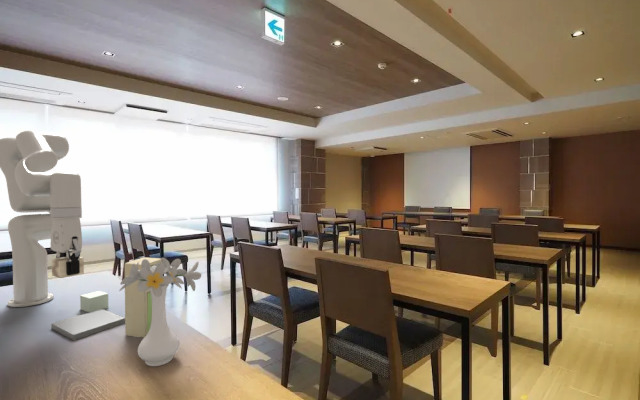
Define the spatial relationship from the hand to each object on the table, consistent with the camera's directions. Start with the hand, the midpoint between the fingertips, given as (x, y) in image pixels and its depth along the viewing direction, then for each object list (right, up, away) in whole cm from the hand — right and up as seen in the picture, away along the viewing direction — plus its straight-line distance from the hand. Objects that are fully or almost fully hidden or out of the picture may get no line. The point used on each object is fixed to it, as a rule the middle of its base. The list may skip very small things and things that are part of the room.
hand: (68, 272), depth 101 cm
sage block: (-2, -16, +15) cm, 22 cm away
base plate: (+6, -16, +1) cm, 17 cm away
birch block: (0, -1, 0) cm, 1 cm away
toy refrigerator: (+25, -17, -3) cm, 30 cm away
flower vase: (+37, -18, -18) cm, 45 cm away
